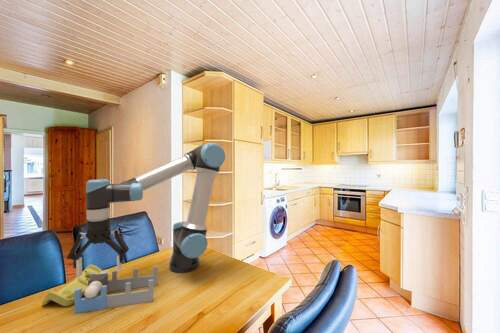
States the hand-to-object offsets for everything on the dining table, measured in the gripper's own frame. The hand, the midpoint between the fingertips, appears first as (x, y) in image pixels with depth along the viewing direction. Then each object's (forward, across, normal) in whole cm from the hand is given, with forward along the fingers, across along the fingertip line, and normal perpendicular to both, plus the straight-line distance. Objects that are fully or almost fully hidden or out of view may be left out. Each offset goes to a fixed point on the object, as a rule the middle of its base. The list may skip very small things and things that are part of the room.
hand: (99, 273), depth 86 cm
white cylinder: (+6, +1, 0) cm, 6 cm away
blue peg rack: (+10, -7, 0) cm, 13 cm away
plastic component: (+10, +11, -8) cm, 17 cm away
